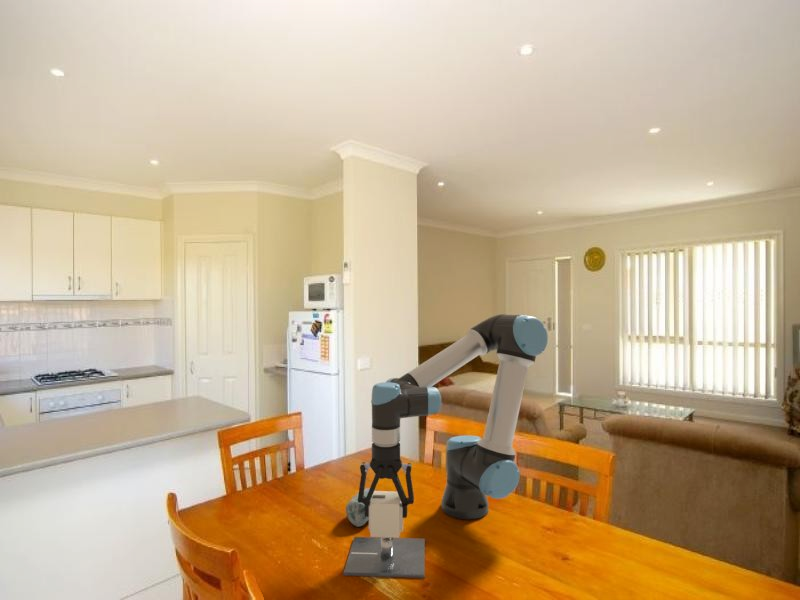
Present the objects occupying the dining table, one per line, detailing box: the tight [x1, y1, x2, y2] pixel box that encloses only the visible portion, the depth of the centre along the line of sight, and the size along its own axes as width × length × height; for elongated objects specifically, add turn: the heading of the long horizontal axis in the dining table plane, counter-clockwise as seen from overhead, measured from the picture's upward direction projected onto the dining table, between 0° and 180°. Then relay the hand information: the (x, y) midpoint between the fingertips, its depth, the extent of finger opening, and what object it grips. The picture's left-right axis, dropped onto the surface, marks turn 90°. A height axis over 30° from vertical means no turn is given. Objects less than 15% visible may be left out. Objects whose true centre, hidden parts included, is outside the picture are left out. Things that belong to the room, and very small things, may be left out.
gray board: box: [343, 536, 426, 579], centre depth 115 cm, size 20×16×5 cm
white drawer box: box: [369, 490, 401, 538], centre depth 115 cm, size 7×7×9 cm
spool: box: [345, 487, 376, 528], centre depth 136 cm, size 14×10×10 cm
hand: (386, 528), depth 115 cm, fingers closed on white drawer box, 7 cm apart
